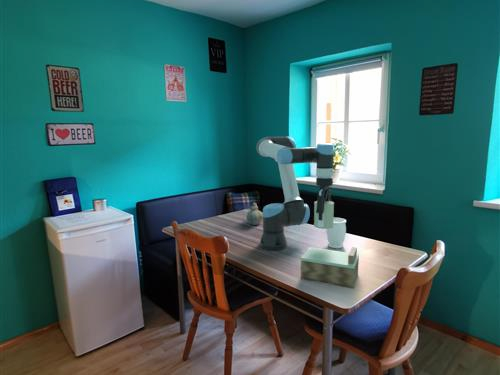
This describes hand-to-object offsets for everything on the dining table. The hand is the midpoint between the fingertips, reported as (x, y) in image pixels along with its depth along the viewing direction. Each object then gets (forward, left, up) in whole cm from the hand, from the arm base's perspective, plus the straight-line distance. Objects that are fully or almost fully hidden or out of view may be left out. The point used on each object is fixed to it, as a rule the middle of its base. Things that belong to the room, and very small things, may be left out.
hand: (323, 223), depth 150 cm
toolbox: (+6, -14, -20) cm, 25 cm away
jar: (+1, +25, -20) cm, 32 cm away
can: (0, 0, -1) cm, 1 cm away
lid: (+6, -14, -11) cm, 19 cm away
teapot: (-59, +47, -20) cm, 78 cm away
